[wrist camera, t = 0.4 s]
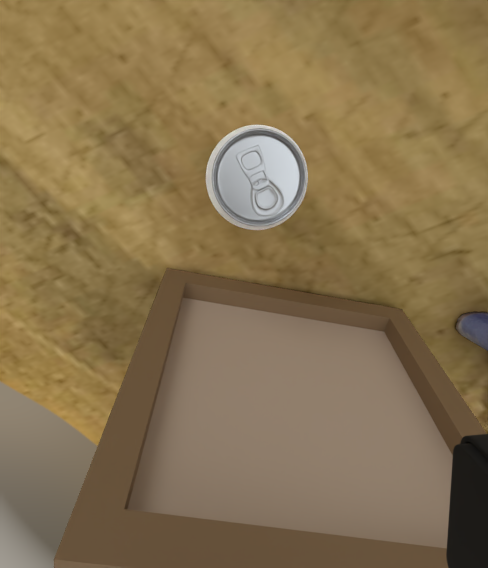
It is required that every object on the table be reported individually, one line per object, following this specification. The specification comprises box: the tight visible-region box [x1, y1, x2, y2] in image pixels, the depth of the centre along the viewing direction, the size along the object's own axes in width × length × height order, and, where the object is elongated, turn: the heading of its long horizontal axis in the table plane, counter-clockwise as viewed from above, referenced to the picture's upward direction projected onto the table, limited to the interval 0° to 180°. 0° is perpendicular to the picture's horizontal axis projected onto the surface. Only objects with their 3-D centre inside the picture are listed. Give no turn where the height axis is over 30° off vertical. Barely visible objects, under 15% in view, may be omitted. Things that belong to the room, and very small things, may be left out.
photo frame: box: [54, 268, 486, 568], centre depth 28 cm, size 15×22×25 cm
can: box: [206, 125, 308, 230], centre depth 30 cm, size 6×6×12 cm
